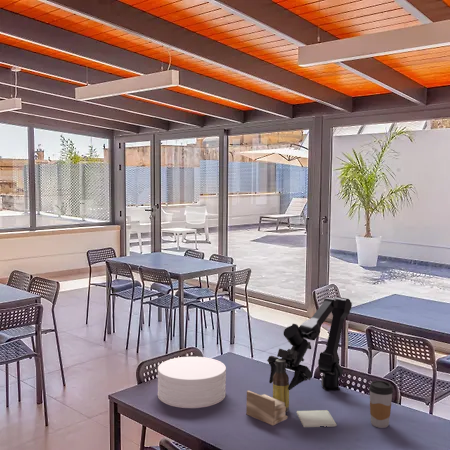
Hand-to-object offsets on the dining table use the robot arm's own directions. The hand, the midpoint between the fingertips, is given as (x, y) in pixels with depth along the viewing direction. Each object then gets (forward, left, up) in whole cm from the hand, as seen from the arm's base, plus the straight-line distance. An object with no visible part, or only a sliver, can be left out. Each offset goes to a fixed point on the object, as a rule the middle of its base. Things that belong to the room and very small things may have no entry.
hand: (279, 386), depth 202 cm
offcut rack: (+5, +4, -10) cm, 12 cm away
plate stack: (+33, -19, -10) cm, 39 cm away
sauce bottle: (-1, -1, -10) cm, 10 cm away
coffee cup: (-35, +13, -10) cm, 39 cm away
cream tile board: (-12, +8, -10) cm, 18 cm away
